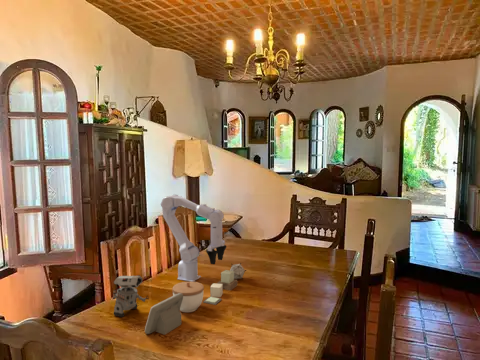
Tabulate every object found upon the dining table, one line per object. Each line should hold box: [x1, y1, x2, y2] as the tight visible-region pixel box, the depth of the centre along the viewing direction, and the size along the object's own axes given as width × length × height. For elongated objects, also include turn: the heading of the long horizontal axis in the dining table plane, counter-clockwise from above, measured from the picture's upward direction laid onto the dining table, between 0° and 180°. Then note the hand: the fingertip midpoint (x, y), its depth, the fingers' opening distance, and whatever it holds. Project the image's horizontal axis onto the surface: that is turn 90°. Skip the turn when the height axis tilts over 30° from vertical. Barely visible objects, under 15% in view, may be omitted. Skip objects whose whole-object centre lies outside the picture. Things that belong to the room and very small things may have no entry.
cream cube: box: [209, 283, 224, 298], centre depth 157 cm, size 4×4×4 cm
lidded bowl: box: [172, 281, 205, 313], centre depth 143 cm, size 13×13×11 cm
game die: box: [229, 262, 247, 280], centre depth 177 cm, size 9×8×10 cm
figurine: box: [112, 274, 149, 318], centre depth 139 cm, size 9×12×15 cm
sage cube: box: [220, 269, 235, 283], centre depth 167 cm, size 4×4×4 cm
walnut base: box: [216, 279, 238, 291], centre depth 167 cm, size 7×7×3 cm
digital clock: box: [144, 293, 183, 335], centre depth 127 cm, size 16×9×11 cm, turn 137°
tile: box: [202, 296, 223, 306], centre depth 150 cm, size 6×6×1 cm
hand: (216, 261), depth 173 cm, fingers open, 7 cm apart
